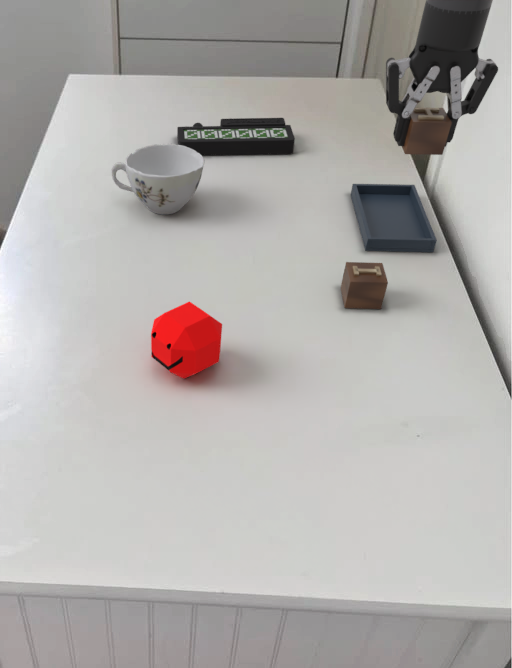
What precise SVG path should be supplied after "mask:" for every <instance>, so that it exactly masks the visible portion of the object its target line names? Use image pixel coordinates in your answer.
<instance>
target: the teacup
mask: <svg viewBox="0 0 512 668" xmlns="http://www.w3.org/2000/svg"><path fill="white" fill-rule="evenodd" d="M204 167H205V158H204V157H203V156H202V155H201V154H200V153H197V152H196V151H195V150H193V149H191V148H188V147H186V146H182V145H178V144H175V143H163V144H151V145H146V146H142V147H141V148H137V149H135V150H134V152H131V153H129V154H128V155H127V156H126V157H125V163H124V162H122V161H118V162H115V163H113V165H112V167H111V177H112V181H113V182H114V184H115V185H116V186H117V187H118V188H119V189H120V190H124V191H128V192H130V193H134V195H135V197H136V198H137V199H138V200H139V201H140V203H142V204H143V205H144V206H145V207H146V208H147V209H148V210H149V211H150V212H152V213H154V214H157V215H164V216H167V215H172V214H176V213H177V212H179V211H180V210H182V209H183V207H184V206H185V205H186V204H187V203H188V202H189V201H190V200H191V199H192V197H193V196H194V194H195V193H196V192H197V189H198V187H199V184H200V182H201V178H202V174H203V170H204ZM120 170H121V171H123V172H124V173H125V174H126V176H127V180H128V183H129V185H130V186H129V185H126V184H124V183H123V182H121V181H119V179H118V177H117V172H118V171H120Z"/></svg>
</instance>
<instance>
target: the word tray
mask: <svg viewBox="0 0 512 668" xmlns="http://www.w3.org/2000/svg"><path fill="white" fill-rule="evenodd" d="M350 198H351V203H352V206H353V210H354V214H355V217H356V218H355V219H356V222H357V225H358V229H359V232H360V237H361V240H362V244H363V248H364V252H396V253H397V252H400V253H434V251H435V248H436V245H437V237H436V235H435V232H434V229H433V227H432V225H431V223H430V220H429V217H428V215H427V213H426V209H425V207H424V204H423V202H422V200H421V197H420V194H419V193H418V190H417V187H416V184H401V183H400V184H399V183H398V184H396V183H395V184H393V183H392V184H391V183H389V184H388V183H352V185H351V190H350Z"/></svg>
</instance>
